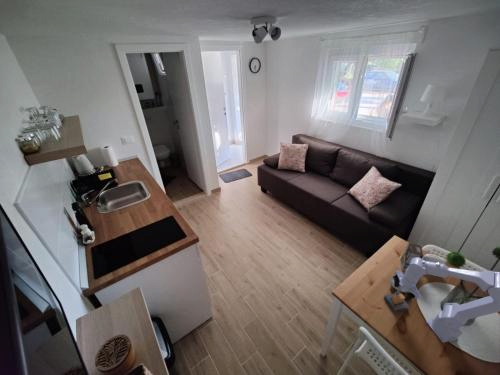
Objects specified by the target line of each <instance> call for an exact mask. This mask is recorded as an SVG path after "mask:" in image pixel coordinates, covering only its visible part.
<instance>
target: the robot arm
mask: <svg viewBox="0 0 500 375" xmlns="http://www.w3.org/2000/svg"><path fill="white" fill-rule="evenodd" d="M394 274H395V275H392V276H393V278H394V287H399V286H400V285H401V286H402V287H405V288H406V289H407V290H409V292H407V293H406V296H405V299H404V301H405V302H409V301H411V300H413V299H415V300H418V299H421V298H422V295H421V294H420V292H419V290H418V288H417V286H416V285H417V283H418V282H419V279H420V278H421V277H422V276H424V275H425V276H426V275H429V276H435V277H439V278H445V279H446V277H452V278H456V279H459V280H463V281H467V282H470V283H474V284H476V285H477V286H478V287H479V289H481V290H482V292H486V291H487V293H488V296H485V297H482V298H479V299H475V300H471V301H467V302H465V303H463V304H460V303H457V302H452V303H451V302H446V303H443V309H442V310H441V311H439V312H438V313H437V315H436V316H435V317H434V318H433V319H430V320H429V319H428V320H426V323H427V325H428V326H429V327H430V328H431V330H432V331H433V332H434V334H435V335H436V337H438V338H439V340H440V341H441V342H442V343H443V344H444V343H448V341H449V342H453V341H457V340H458V339H459V337H461V336H462V334H463V331H462V330H461V329H460V328H461V327H463V326H464V325H466V324H467V322H468V320H470V319H475V318H479V317H482V316H488V315H492V314H495V313H499V312H500V271H493V270H484V271H483V270H482V271H478V270H477V271H476V270H469V269H462V268H454V267H449V266H447V265H446V263H445V264H441V263H438V262H436V263H435V262H429V261H424V260H423V259H421V258H418V257H415V258H412V259H411V262H410V265H409V266H408V268H407V270H406V271H404V273H403V272H401V271H400V270H395V271H394ZM457 338H458V339H457ZM456 339H457V340H456Z"/></svg>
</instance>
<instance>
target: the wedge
mask: <svg viewBox="0 0 500 375" xmlns="http://www.w3.org/2000/svg"><path fill="white" fill-rule="evenodd" d="M405 299H406V296H405V295H403V293H401V294H397V295H394V296H393V298H392V300H391V301H392V302H393V304H394V305H398V304H402V302H403V301H405Z"/></svg>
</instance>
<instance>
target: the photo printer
mask: <svg viewBox="0 0 500 375" xmlns="http://www.w3.org/2000/svg"><path fill="white" fill-rule="evenodd" d="M422 259H423V260H424V261H429V262H435V263H436V262H438V263H441V264H445V265H446V261H447V260H446V259H445V258H443V257H441V256H439V255H435V254H431V253H425V254H423V258H422Z"/></svg>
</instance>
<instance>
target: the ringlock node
mask: <svg viewBox="0 0 500 375" xmlns="http://www.w3.org/2000/svg"><path fill="white" fill-rule="evenodd" d="M393 276H394V275H392V276H391V277H390V278H389V283H390V285H391V286H392V288H393V289H394V290H395V293H390V294H389V293H388V294H385V295H384V297H383V299H384V300H385V301H386V303H387V305H388V306H389V307H390V309H391V310H392V311H393V313H397V312H402V311H407V310H409V309H410V306H409V304H408V302H407V301H406V300H404V301H403V302H402V304H398V305H394V304H393V302H392V301H391V300H392V298H393V296H394V295H397V294H403V293H404V294H407V293H410V291H409V290H407V289H406V288H405V287H402V286H401V285H400V286H399V287H394V278H393Z"/></svg>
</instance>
